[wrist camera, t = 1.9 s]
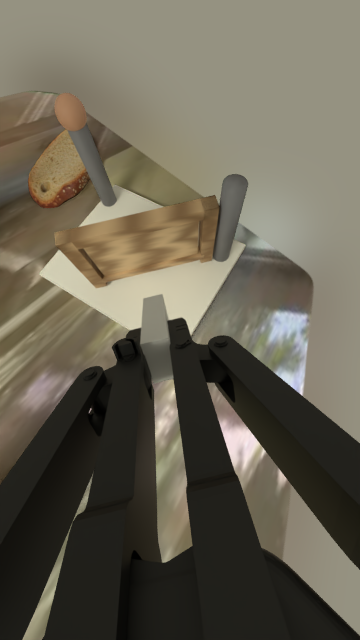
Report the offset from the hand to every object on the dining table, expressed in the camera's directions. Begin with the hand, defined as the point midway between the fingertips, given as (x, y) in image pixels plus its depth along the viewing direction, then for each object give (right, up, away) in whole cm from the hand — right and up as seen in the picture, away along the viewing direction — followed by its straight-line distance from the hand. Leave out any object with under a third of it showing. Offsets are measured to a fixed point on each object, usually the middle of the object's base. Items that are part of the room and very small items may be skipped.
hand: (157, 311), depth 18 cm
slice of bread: (-24, +33, +34) cm, 53 cm away
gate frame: (-5, +10, +25) cm, 27 cm away
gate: (-3, +8, +23) cm, 24 cm away
